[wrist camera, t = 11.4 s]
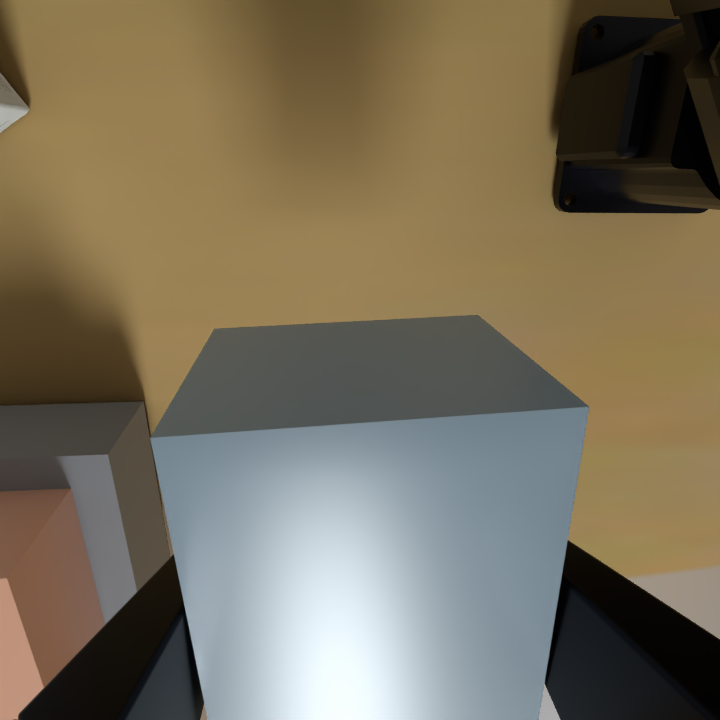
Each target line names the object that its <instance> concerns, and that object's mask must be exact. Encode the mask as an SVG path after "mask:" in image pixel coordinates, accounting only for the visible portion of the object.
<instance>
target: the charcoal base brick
mask: <svg viewBox="0 0 720 720" xmlns="http://www.w3.org/2000/svg"><path fill="white" fill-rule="evenodd" d="M48 489H71V490H72V494H73V498H74V502H75V506H76V510H77V514H78V518H79V522H80V526H81V530H82V534H83V538H84V542H85V546H86V550H87V554H88V558H89V562H90V566H91V570H92V574H93V579H94V583H95V587H96V591H97V595H98V599H99V603H100V607H101V611H102V615H103V619H104V623H105V624H106V623H107V622H108V621H109V620H110V619H111V618H112V617H113V616H114V615H115V614H116V613H117V612H118V611H119V610H120V609H121V608H122V607H123V606H124V605H125V604H126V603H127V602H128V601H129V600H130V599H131V598H132V596H133V595H134V594H135V593H136V592H137V591H138V590H139V589H140V588H141V587H142V586H143V585H144V584H145V583H146V582H147V581H148V580H149V579H150V578H151V577H152V576H153V575H154V574H155V573H156V572H157V571H158V570H159V569H160V568H161V567H162V566H163V565H164V564H165V562H166V561H167V560H168V559H169V558H170V553H169V547H168V541H167V535H166V529H165V523H164V518H163V512H162V506H161V500H160V494H159V488H158V483H157V477H156V471H155V465H154V459H153V453H152V447H151V442H150V436H149V430H148V424H147V418H146V412H145V407H144V401H140V402H107V403H75V404H42V405H9V406H0V492H2V491H25V490H48Z"/></svg>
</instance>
